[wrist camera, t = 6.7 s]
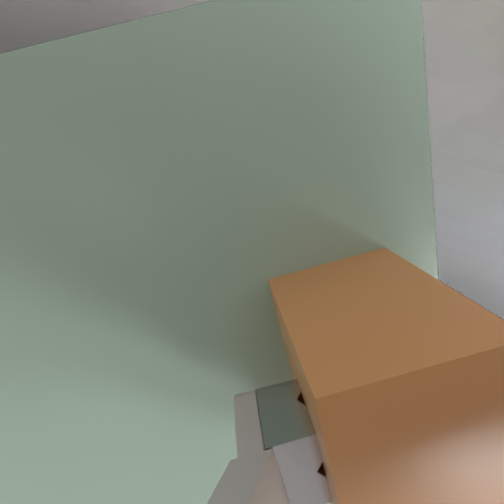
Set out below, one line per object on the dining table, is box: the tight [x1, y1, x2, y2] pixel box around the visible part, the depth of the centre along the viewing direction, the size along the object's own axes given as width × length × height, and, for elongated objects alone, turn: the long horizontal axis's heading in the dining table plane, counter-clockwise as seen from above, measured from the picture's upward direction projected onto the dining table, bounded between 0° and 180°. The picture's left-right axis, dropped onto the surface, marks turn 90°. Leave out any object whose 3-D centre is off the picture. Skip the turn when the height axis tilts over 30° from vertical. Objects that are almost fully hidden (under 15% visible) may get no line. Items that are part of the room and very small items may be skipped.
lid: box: [0, 0, 504, 504], centre depth 7 cm, size 23×17×5 cm
